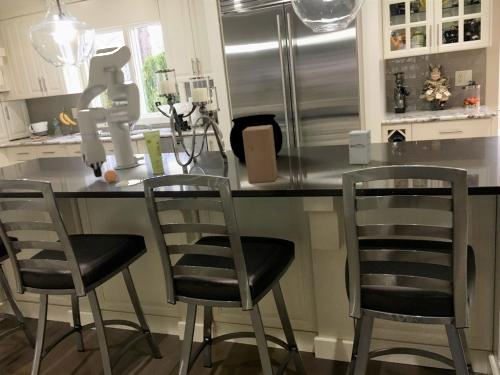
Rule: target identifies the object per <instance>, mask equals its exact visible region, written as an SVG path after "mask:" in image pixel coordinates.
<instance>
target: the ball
mask: <svg viewBox="0 0 500 375" xmlns="http://www.w3.org/2000/svg"><path fill="white" fill-rule="evenodd" d="M103 176H104V177H103V178H104V180H105V181H106V182H108V183H114V182H115V181H116V180H117V179H118V174H117V172H116V171H115V170H113V169H109V170H107V171H105V173H104V175H103Z"/></svg>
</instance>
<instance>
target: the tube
mask: <svg viewBox="0 0 500 375" xmlns="http://www.w3.org/2000/svg"><path fill="white" fill-rule="evenodd" d="M160 132H161V130H160V129H157V130H152V131H146V132H142V136H143V138H144V141H145V144H146V148H147V151H148V156H149V160H150V164H151V169H152V172H153V175H160V174H163V173H164V172H165V170H164V169H165V168H164V162H163V156H162V146H161V138H160V136H161V135H160V134H161V133H160Z"/></svg>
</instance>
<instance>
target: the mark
mask: <svg viewBox="0 0 500 375" xmlns="http://www.w3.org/2000/svg"><path fill="white" fill-rule="evenodd" d="M139 179H140V183H139V184H142V183H141V180H143V179H142V178H139ZM127 180H128V179H126V180H122V181H119V182H116V183H115V184H114V186H115V187H116V188H124V187H123V186H127V187H129V186H128V184H129V182H128V181H127Z"/></svg>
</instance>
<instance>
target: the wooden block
mask: <svg viewBox="0 0 500 375" xmlns="http://www.w3.org/2000/svg"><path fill="white" fill-rule="evenodd" d="M242 133H243V141H244V150H245V158H246V163H245V165H246V175H247V181H248V184H258V183H259V184H260V183H273V182H275V181H276V178H277V176H278V171H277V170H278V168H277V158H276V156H275V146H274V136H273V126H272V125H265V126H254V127H247V128H246V129H245V130H244V131H243V132H242Z"/></svg>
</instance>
